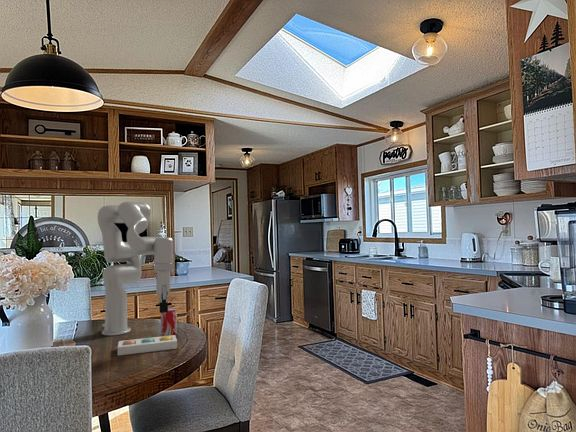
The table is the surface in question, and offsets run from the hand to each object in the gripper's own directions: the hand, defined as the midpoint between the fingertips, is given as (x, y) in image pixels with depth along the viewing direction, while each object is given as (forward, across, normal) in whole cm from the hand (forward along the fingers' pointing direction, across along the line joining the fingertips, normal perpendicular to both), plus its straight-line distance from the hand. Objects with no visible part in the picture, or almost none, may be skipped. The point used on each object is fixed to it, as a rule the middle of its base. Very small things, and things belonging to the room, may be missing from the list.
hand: (163, 311), depth 165 cm
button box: (+14, +2, -6) cm, 15 cm away
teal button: (+13, +2, -6) cm, 15 cm away
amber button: (+13, +2, +1) cm, 13 cm away
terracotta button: (+13, +2, -13) cm, 19 cm away
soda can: (+14, -15, +3) cm, 21 cm away
